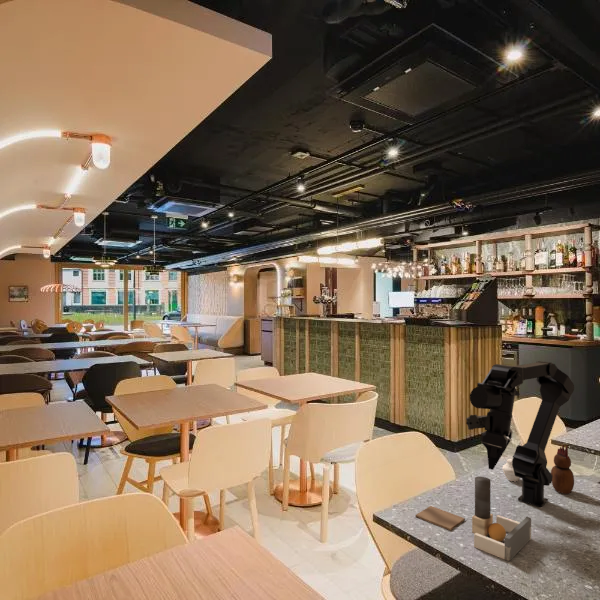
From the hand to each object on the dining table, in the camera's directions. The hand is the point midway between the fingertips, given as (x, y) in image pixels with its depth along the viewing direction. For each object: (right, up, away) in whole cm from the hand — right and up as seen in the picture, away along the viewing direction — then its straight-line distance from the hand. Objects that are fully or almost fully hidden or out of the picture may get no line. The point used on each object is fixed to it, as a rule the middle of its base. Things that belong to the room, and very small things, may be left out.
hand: (493, 465), depth 122 cm
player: (-8, -13, -13) cm, 19 cm away
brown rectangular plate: (-16, -13, -5) cm, 21 cm away
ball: (-6, -11, -15) cm, 19 cm away
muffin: (+16, -13, +22) cm, 31 cm away
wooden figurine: (+28, -13, +14) cm, 34 cm away
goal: (-5, -13, -16) cm, 21 cm away
